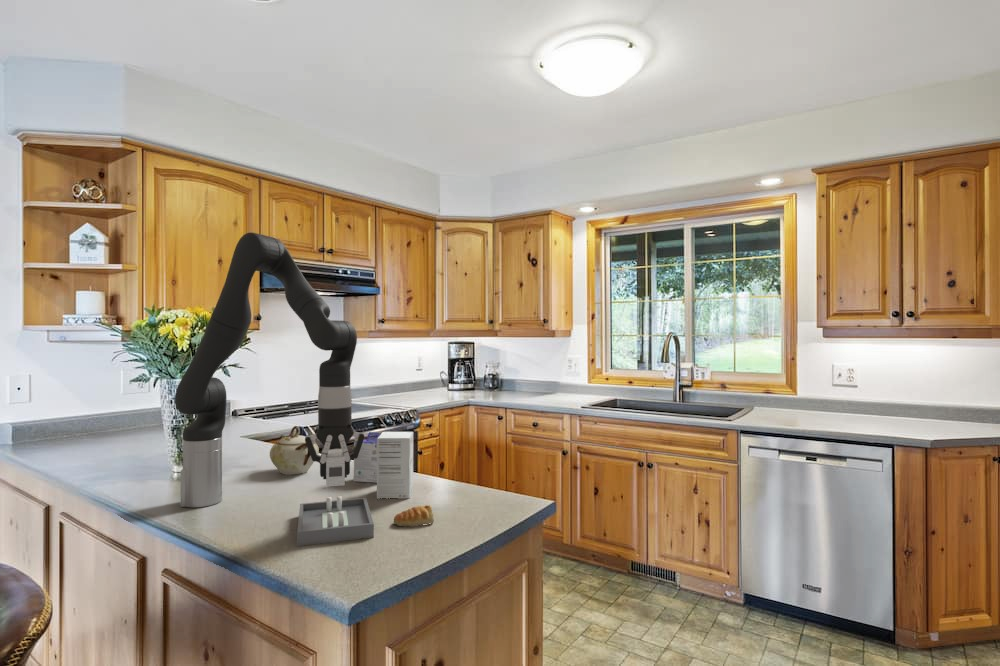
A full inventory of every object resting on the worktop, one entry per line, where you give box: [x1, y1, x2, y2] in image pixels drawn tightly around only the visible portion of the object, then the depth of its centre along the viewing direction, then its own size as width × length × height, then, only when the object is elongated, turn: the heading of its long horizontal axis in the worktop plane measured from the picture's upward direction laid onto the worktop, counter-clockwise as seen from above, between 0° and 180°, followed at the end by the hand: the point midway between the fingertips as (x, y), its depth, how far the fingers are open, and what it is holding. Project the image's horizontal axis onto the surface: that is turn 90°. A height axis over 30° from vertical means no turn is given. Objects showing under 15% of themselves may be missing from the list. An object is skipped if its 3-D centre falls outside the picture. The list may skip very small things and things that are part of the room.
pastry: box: [393, 504, 435, 527], centre depth 130 cm, size 9×7×4 cm
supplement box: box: [376, 431, 414, 500], centre depth 153 cm, size 10×9×17 cm
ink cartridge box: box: [353, 431, 380, 484], centre depth 166 cm, size 10×6×14 cm, turn 78°
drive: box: [325, 448, 346, 488], centre depth 127 cm, size 4×9×6 cm, turn 18°
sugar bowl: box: [269, 425, 320, 476], centre depth 176 cm, size 20×15×15 cm
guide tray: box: [296, 495, 375, 547], centre depth 128 cm, size 16×20×5 cm
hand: (335, 477), depth 128 cm, fingers closed on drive, 4 cm apart
